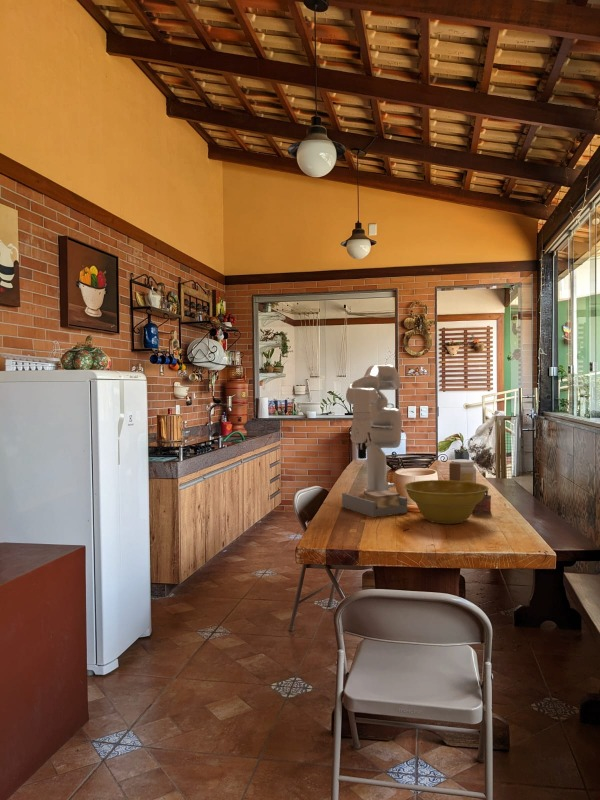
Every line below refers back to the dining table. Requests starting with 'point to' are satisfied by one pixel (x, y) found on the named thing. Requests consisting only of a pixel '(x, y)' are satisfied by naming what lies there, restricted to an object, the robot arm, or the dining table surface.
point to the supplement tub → (467, 470)
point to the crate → (383, 498)
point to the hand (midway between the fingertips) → (362, 458)
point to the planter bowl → (445, 499)
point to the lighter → (483, 505)
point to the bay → (372, 506)
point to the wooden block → (455, 471)
